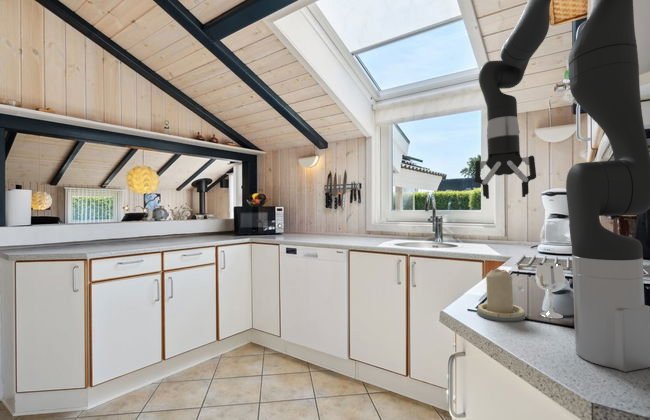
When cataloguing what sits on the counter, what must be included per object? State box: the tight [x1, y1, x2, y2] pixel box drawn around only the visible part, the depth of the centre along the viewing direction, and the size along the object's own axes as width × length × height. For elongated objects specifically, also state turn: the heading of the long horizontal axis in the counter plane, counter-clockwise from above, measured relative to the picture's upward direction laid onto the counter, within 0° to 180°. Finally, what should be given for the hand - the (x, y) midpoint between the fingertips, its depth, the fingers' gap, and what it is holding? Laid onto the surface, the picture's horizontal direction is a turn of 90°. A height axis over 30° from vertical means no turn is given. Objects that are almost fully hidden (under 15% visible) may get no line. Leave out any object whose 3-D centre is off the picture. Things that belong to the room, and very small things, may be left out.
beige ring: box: [476, 302, 526, 323], centre depth 82 cm, size 10×10×2 cm
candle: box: [485, 268, 514, 313], centre depth 82 cm, size 6×6×10 cm
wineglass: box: [535, 262, 566, 320], centre depth 80 cm, size 6×6×12 cm
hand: (505, 197), depth 91 cm, fingers open, 8 cm apart
